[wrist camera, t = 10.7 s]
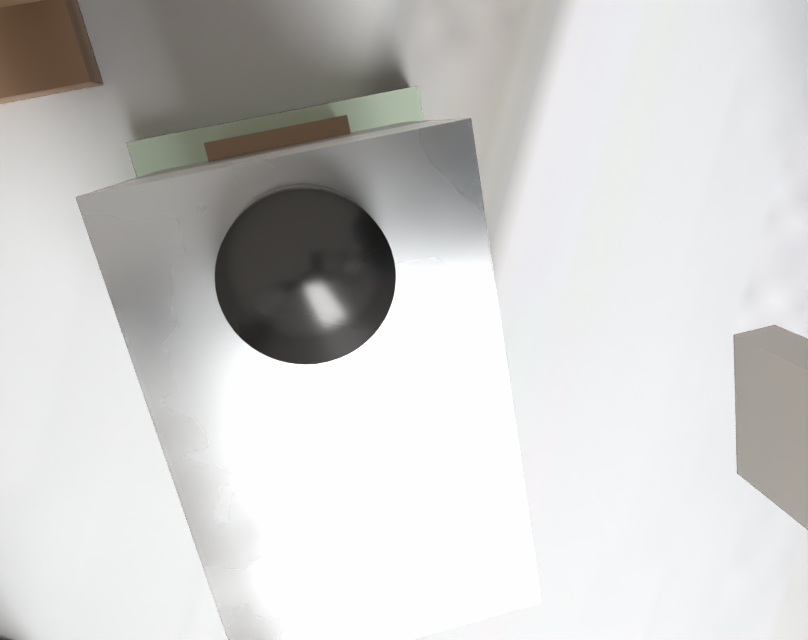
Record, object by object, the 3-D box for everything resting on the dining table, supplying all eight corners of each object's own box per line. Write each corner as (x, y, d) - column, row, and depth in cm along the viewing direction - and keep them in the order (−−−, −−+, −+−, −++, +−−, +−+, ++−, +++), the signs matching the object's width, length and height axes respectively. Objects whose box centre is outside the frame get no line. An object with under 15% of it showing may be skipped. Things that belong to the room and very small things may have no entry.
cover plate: (496, 517, 18) (561, 641, 14) (252, 582, 18) (240, 734, 13) (431, 120, 15) (490, 117, 10) (125, 181, 14) (50, 205, 10)
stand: (410, 88, 24) (447, 75, 18) (464, 402, 28) (508, 472, 22) (136, 141, 23) (84, 145, 17) (233, 459, 27) (218, 548, 21)
